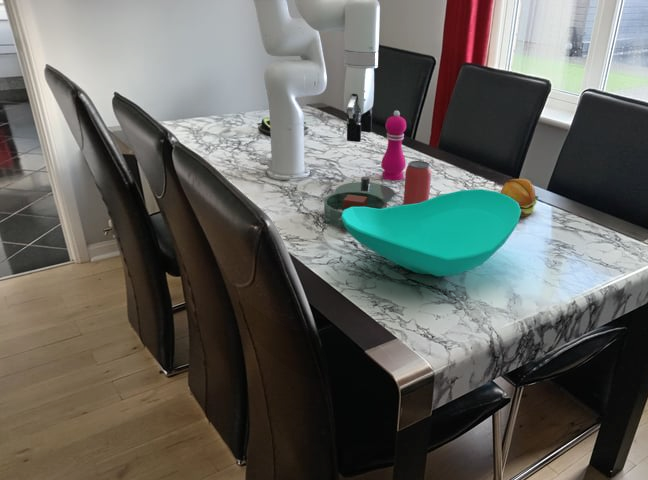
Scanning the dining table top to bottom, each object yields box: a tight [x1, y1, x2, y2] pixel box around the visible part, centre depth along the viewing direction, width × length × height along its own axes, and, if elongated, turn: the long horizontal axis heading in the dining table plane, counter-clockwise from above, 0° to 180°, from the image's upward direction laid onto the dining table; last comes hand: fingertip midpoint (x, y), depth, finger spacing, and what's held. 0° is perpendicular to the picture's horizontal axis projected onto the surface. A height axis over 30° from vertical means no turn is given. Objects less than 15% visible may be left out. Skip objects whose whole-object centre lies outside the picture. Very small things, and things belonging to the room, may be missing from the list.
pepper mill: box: [380, 110, 407, 181], centre depth 168 cm, size 7×7×20 cm
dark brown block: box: [342, 194, 367, 211], centre depth 143 cm, size 5×4×5 cm
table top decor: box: [341, 188, 521, 277], centre depth 120 cm, size 40×28×13 cm
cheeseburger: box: [500, 178, 539, 217], centre depth 152 cm, size 10×11×10 cm
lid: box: [334, 176, 396, 203], centre depth 158 cm, size 16×16×5 cm
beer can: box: [402, 160, 432, 205], centre depth 150 cm, size 7×7×12 cm
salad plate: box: [256, 117, 310, 138], centre depth 213 cm, size 19×18×5 cm
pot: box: [323, 191, 388, 230], centre depth 143 cm, size 15×21×4 cm
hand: (359, 136), depth 136 cm, fingers open, 9 cm apart
